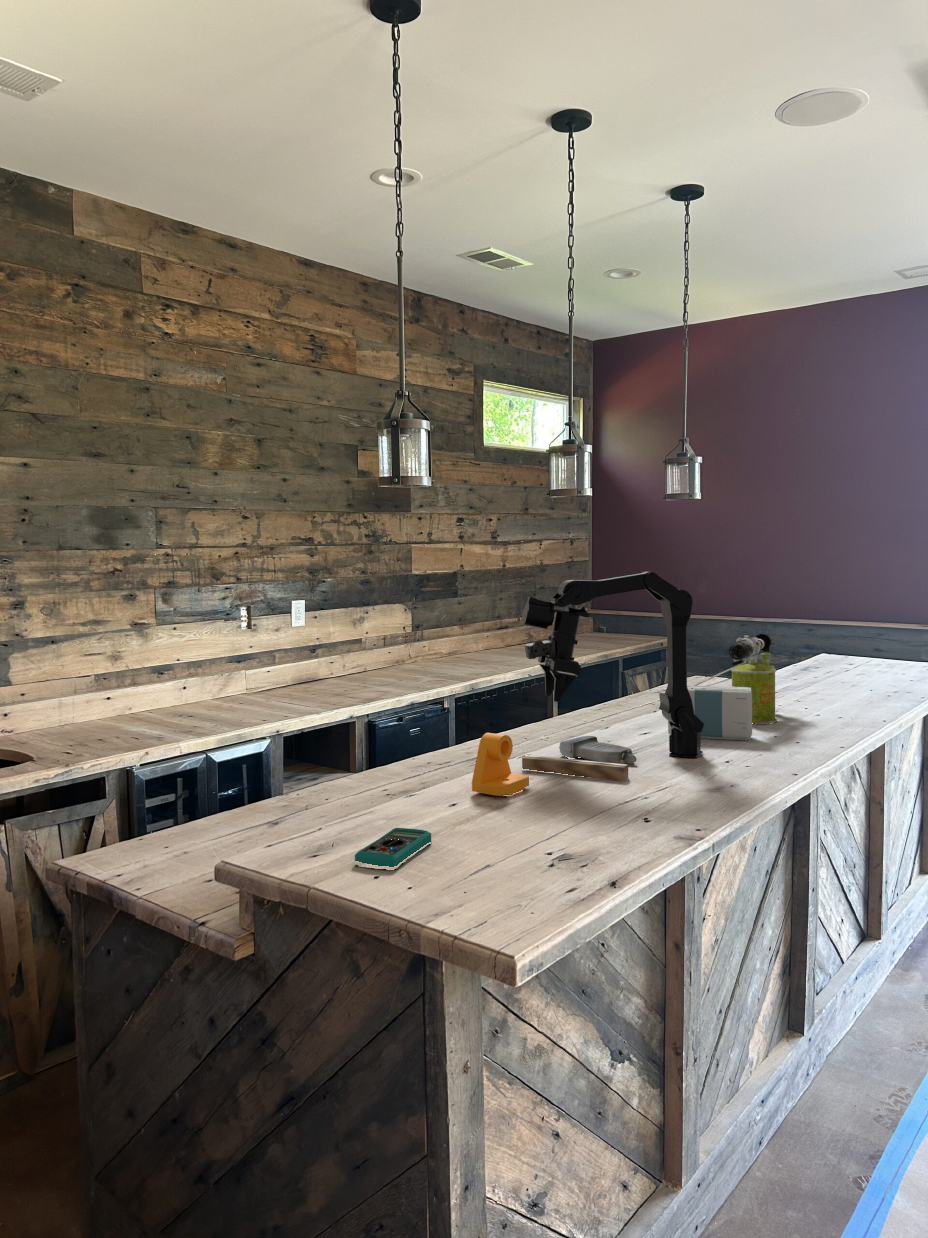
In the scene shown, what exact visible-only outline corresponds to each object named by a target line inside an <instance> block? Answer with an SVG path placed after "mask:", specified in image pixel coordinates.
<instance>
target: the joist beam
mask: <svg viewBox="0 0 928 1238" xmlns="http://www.w3.org/2000/svg"><path fill="white" fill-rule="evenodd" d="M521 763H522V764H521V769H522V768H523V769H529V770H537V771H544V772H554V773H561V774H568V775H575V776H574V777H577V776H584V777H583V778H587V777H591V778H590V779H596V778H599V780H606V779H607V781H608V780H609V781H614V782H616V781H617V782H625V781H627V780H628V779H629V763H628V764H617V763H606V762H596V761H592V760H586V759H584V760H583V759H567V758H565V757H564V758H562V757H555V756H554V757H552V756H540V755H530V754H525V755H524V756H522V758H521Z"/></svg>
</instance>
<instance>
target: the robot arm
mask: <svg viewBox="0 0 928 1238" xmlns="http://www.w3.org/2000/svg"><path fill="white" fill-rule="evenodd" d="M641 590H646V591H647V593H649V595H651V596H652V597H653V598H654V599H656V600H657V601H658V602H659V603H660V610H661V614H662V618H663V621H664V623H665V626H666V647H667V648H666V651H667V652H666V654H667V655H666V657H667V658H666V659H667V660H666V661H667V664H666V665H667V686H666V689H665V691H664V692H659V693H658V697H659V707H658V710H660V711H661V714H662V717H663V718H665V720H667V722H668V721H669V723H670V726H671V727H674V728H673V729H671V735H670V734H669V737H668V745H669V747H668V748H669V749H668V750H669V756H670V757H678V758H679V757H680V758H689V759H697V758H698V757H699V756H701V755H702V754H703V753H704V752H703V750H702V749H701V743H702V742H701V739H702V738H701V736H700V732H702V729H703V726H704V723H703V722H702V721H701V720H700V719H699V718H698V717H697V716H696V715H694V709H693V703H692V699H691V696H690V693H689V691H688V688H687V685H688V663H687V661H688V654H687V653H688V652H687V651H688V650H687V649H688V648H687V647H688V646H687V645H688V644H687V643H688V641H687V638H688V637H687V627H688V624H689V621H690V620H691V616H692V611H693V605H694V600H693V596H692V594H691V593H690V592H688V591H687V590H685V589H679V588H678V587H676V586H675V585H673V584H672V583H670V582H668V581H667V580H665V579H664V578H662V577H660V576H659V575H658V574H657V573H656V572H654V571H642V572H641V573H635V574H629V575H624V576H623V575H622V576H616V577H611V578H604V579H598V580H597V579H596V580H592V579H591V580H586V579H567V580H565V581H563V582H561V583H560V585H559V587H558V590H557V592H556V593H555V594H554V595H553V596H552V597H551V598H549V599H548V600H542V599H538V598H535V597H531V596H528V597H527V602H526V603H525V605H524V609H523V610H522V614H521V626H525V627H529V628H536V629H540V630H547V629H548V627H552V625H553V627H552V631H551V632H552V633H551V634H549V635H548V636H547V640H534V641H533V642H530V643H526V644H524V649H525V656H526V659H528V660H535V659H536V658H538V660H537V662H538V666H539V667H540V668H541V669H542V671H543V672H544V684H545V685H544V688H545V696H546V697H551V696H552V694H553V702H556V703H558V702H560V701H561V699H562V698H563V696H564V695H565V694H566V692H567V691H568V689H569V688H570V686H571V685H572V684H573V682H574V681H575V680H576V678H578V676H580V674H581V670H582V669H581V668H582V666H581V664H580V663H579V662H578V661H576V660H575V657H573V656H574V652H575V645H578V643H579V642H578V641H579V640H578V639H577V635H578V630H579V625H580V621H581V617H583V618H589V617H590V614H589V613H588V612H587V611H588V610H586V607H585V606H583V605H582V604H585V603H588V602H591V601H593V600H594V599H598V598H600V597H603V596H604V597H605V596H611V595H615V594H623V593H628V592H634V591H641ZM569 605H570V606H569ZM580 605H582V606H580ZM571 606H580V607H578V608H575V607H571ZM555 607H559V608H564V610H563V609H556V608H555Z"/></svg>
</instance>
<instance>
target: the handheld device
mask: <svg viewBox="0 0 928 1238" xmlns="http://www.w3.org/2000/svg"><path fill="white" fill-rule="evenodd" d="M558 747H559V748H558V749H559V753H560V754H561V755H562V756H563V755H564V756H567V757H570V758H578V757H581V758H580V759H584V760H587V761H596V762H606V763H617V764H627V763H628V764H634V763H636V762H637V761H638V760H637V757H636V755H635V754H633V750H632V748H630V747H627V746H622V745H618V744H614V743H613V744H612V743H606V742H599V741H598V737H597V736H594V735H582V736H578V737H574V738H571V739H565V740H562V741H560V743H559V746H558ZM564 756H563V757H564Z"/></svg>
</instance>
